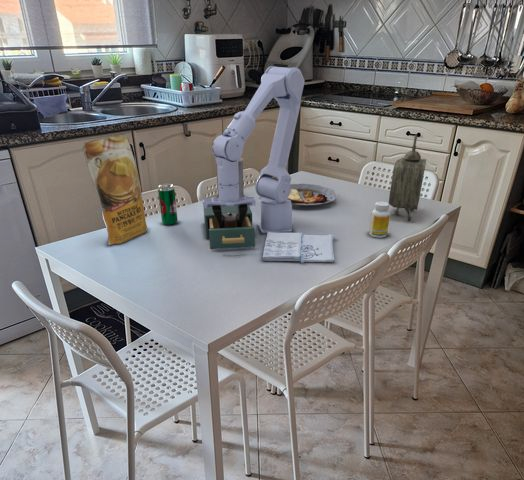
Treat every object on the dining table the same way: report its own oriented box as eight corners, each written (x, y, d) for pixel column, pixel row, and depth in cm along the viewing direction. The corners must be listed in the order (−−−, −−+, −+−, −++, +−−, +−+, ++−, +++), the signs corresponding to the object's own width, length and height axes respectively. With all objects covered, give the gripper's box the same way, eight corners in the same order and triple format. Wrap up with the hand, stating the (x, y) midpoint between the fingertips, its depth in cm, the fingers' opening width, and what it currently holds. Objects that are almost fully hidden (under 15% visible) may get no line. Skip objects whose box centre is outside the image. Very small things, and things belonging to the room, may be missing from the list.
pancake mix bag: (94, 244, 141) (73, 142, 126) (139, 225, 155) (125, 130, 139) (111, 249, 138) (91, 145, 123) (155, 229, 152) (143, 132, 136)
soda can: (174, 226, 154) (170, 188, 147) (159, 225, 155) (154, 187, 148) (180, 221, 158) (176, 183, 151) (165, 220, 159) (161, 182, 152)
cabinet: (252, 236, 146) (252, 213, 142) (206, 239, 145) (204, 215, 141) (247, 221, 157) (246, 199, 153) (204, 223, 156) (203, 201, 152)
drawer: (256, 252, 134) (256, 233, 131) (211, 254, 133) (209, 235, 130) (249, 231, 148) (249, 213, 144) (208, 233, 146) (206, 215, 143)
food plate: (339, 211, 166) (340, 200, 164) (271, 210, 166) (271, 200, 164) (331, 190, 187) (332, 180, 185) (271, 190, 187) (271, 180, 185)
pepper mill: (237, 232, 143) (237, 209, 139) (239, 238, 139) (238, 214, 135) (222, 233, 142) (221, 210, 139) (223, 239, 139) (222, 215, 135)
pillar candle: (217, 194, 183) (215, 152, 174) (243, 193, 184) (242, 151, 175) (218, 201, 175) (215, 158, 166) (245, 200, 176) (244, 157, 167)
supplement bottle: (365, 233, 149) (369, 201, 143) (380, 230, 150) (385, 199, 145) (374, 239, 144) (379, 207, 139) (390, 236, 146) (395, 205, 141)
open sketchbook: (267, 236, 146) (267, 229, 145) (334, 238, 145) (335, 231, 143) (261, 262, 131) (261, 254, 129) (336, 265, 129) (336, 257, 128)
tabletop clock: (414, 224, 155) (428, 140, 141) (385, 221, 158) (397, 139, 144) (417, 210, 166) (431, 132, 152) (390, 207, 169) (401, 130, 155)
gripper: (202, 188, 128) (206, 237, 136) (256, 185, 130) (257, 234, 138) (201, 181, 134) (204, 228, 142) (253, 179, 136) (253, 225, 143)
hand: (230, 230), depth 140 cm, fingers closed on pepper mill, 4 cm apart
